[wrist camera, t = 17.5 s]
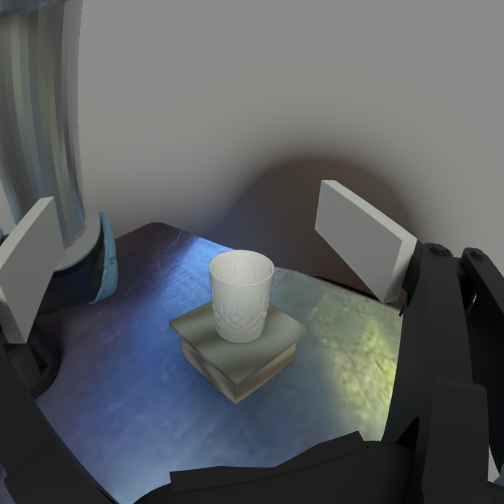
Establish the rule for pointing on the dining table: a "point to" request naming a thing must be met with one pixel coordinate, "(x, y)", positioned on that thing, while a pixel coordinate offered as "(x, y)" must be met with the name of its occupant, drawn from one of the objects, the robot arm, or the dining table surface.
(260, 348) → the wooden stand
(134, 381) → the dining table surface
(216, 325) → the white cup
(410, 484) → the robot arm
